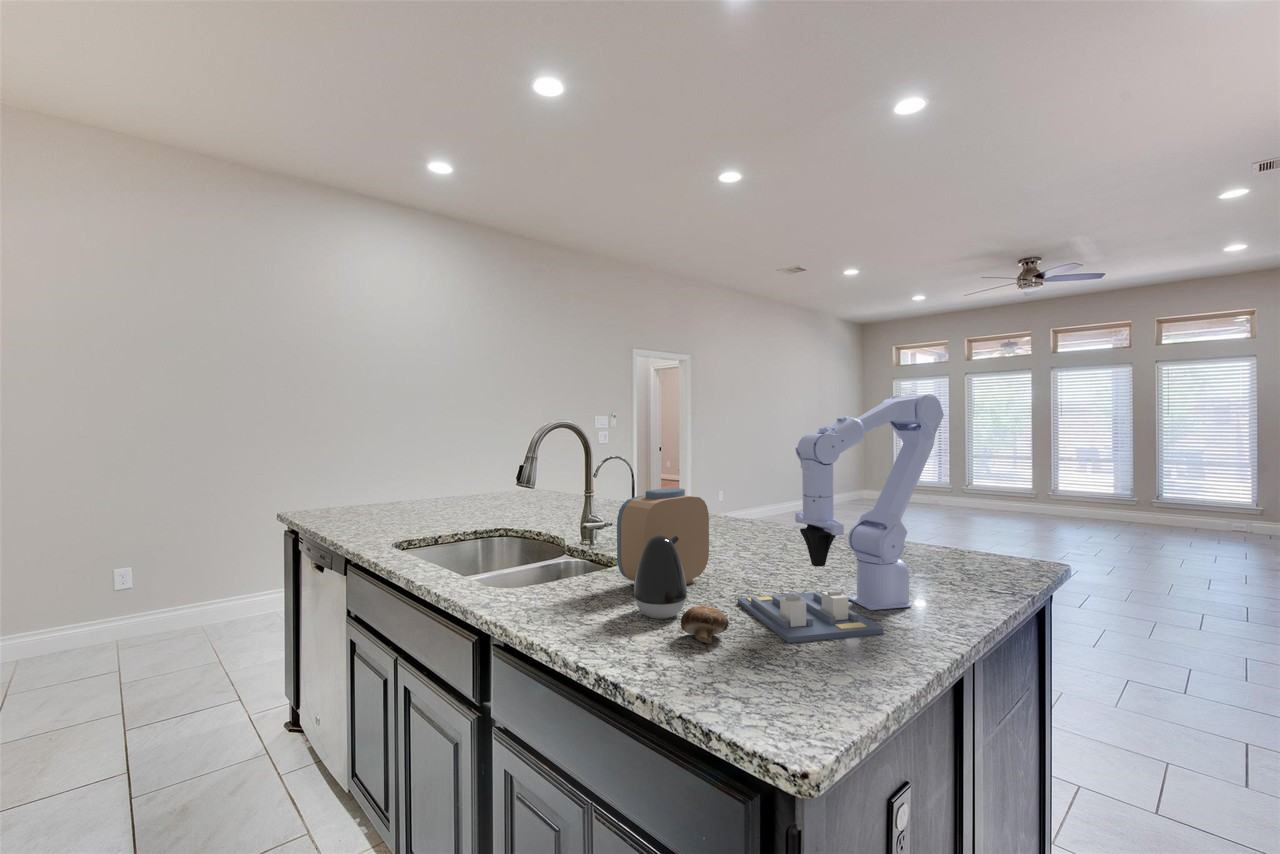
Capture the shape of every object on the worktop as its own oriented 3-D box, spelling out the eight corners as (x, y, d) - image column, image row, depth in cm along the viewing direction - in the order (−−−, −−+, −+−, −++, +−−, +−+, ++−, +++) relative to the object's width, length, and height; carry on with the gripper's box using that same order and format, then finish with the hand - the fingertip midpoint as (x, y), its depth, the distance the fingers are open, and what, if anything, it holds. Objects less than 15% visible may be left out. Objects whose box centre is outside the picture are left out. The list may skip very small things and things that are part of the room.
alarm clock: (679, 572, 142) (679, 484, 142) (709, 579, 135) (708, 487, 135) (615, 588, 128) (615, 491, 128) (645, 598, 121) (644, 495, 121)
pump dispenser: (698, 613, 111) (698, 535, 111) (663, 627, 104) (662, 543, 104) (658, 602, 118) (658, 528, 118) (622, 615, 111) (622, 536, 111)
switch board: (817, 596, 122) (817, 586, 122) (883, 633, 100) (883, 621, 100) (737, 603, 118) (737, 592, 118) (788, 643, 96) (788, 629, 96)
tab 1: (795, 618, 105) (795, 592, 105) (806, 625, 101) (806, 599, 101) (780, 619, 105) (780, 594, 104) (790, 627, 101) (790, 600, 101)
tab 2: (836, 612, 108) (836, 587, 108) (848, 619, 104) (848, 593, 104) (821, 613, 108) (821, 588, 108) (833, 620, 104) (833, 595, 104)
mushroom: (713, 635, 91) (709, 596, 95) (672, 644, 95) (670, 607, 99) (738, 646, 96) (734, 609, 100) (699, 655, 100) (696, 619, 104)
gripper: (781, 491, 118) (782, 558, 118) (818, 501, 104) (819, 576, 104) (812, 490, 119) (813, 556, 119) (853, 499, 105) (854, 574, 105)
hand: (818, 565), depth 112 cm, fingers closed
